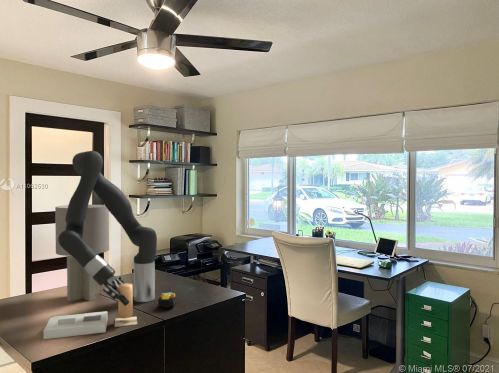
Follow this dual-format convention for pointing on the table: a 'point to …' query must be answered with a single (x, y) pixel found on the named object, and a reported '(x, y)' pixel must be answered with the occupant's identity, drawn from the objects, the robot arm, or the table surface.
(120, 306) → the plug
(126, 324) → the pad
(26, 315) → the table surface
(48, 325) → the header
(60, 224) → the lamp
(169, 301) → the pot of gold
